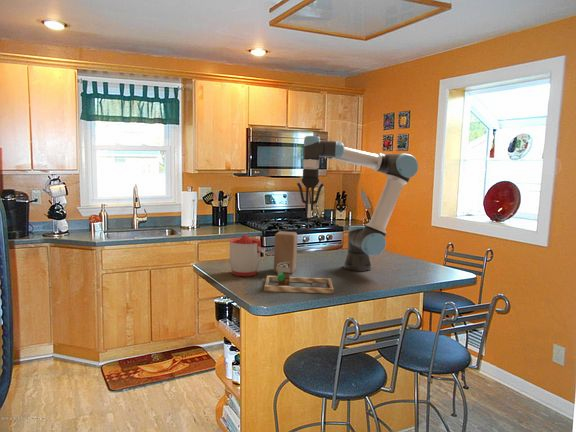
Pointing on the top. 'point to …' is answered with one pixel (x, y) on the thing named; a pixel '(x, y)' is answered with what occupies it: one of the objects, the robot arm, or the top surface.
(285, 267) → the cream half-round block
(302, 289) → the trap channel
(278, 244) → the block
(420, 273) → the top surface
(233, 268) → the citrus juicer
